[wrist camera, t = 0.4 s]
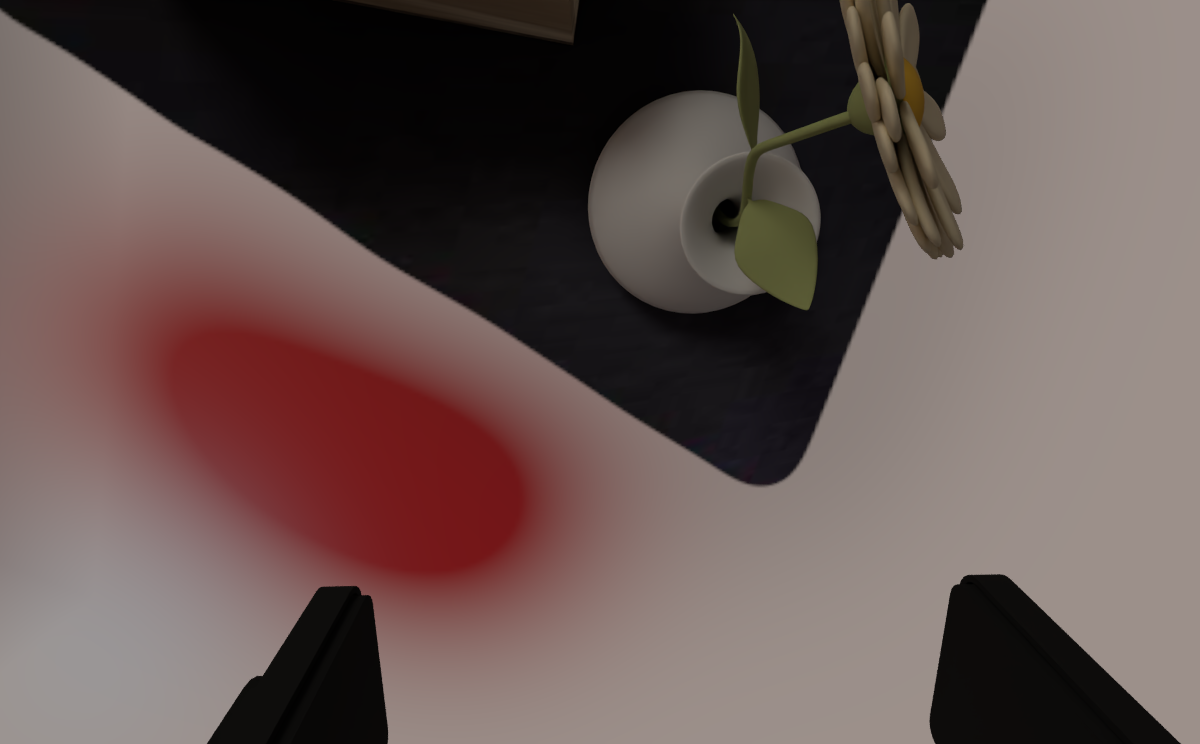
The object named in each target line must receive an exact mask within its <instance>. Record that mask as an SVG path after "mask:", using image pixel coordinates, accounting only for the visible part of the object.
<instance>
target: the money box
mask: <svg viewBox="0 0 1200 744" xmlns="http://www.w3.org/2000/svg"><path fill="white" fill-rule="evenodd" d="M334 1H339V2H345V3H350V4H355V5H360V6H366V7H371V8H376V9H382V10H387V11H392V12H398V13H403V14H408V15H414V16H419V17H424V18H430V19H435V20H440V21H446V22H451V23H456V24H462V25H467V26H472V27H478V28H483V29H488V30H494V31H499V32H504V33H510V34H515V35H520V36H525V37H531V38H536V39H541V40H547V41H552V42H557V43H563V44H568V45H573V43H574V36H575V29H576V22H577V15H578V8H579V1H580V0H334Z"/></svg>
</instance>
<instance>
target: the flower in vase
mask: <svg viewBox="0 0 1200 744" xmlns="http://www.w3.org/2000/svg"><path fill="white" fill-rule="evenodd" d="M840 5H841V10H842V14H843V18H844V22H845V26H846V29H847V32H848V37H849V42H850V47H851V51H852V56H853V60H854V64H855V68H856V71H857V74H858V80H859V82H858V84H857V85H856V87H855V88H854V89H853V91H852V93H851V95H850V97H849V101H848V106H847V112H844V113H841V114H838V115H836V116H833V117H830V118H827V119H824V120H822V121H819V122H816V123H813V124H811V125H808V126H805V127H802V128H799V129H797V130H794V131H791V132H788V133H785V134H784V132H783V131H782V130H781V129H780V127H779V126H778V125H777V124H776V123H775V122H774V121H773V120H772V119H771V118H770V117H769V116H768V115H767V114H766V113H764V112H763V111H762V110H760V109H759V79H758V71H757V64H756V60H755V55H754V52H753V49H752V46H751V43H750V40H749V38H748V36H747V34H746V32H745V30H744V29H743V27H742V25H741V24H740V22H739V21H738V20H737V18H736V17H735V15H734V14H733V15H734V17H735V20H736V22H737V25H738V28H739V32H740V58H739V68H738V77H737V97H735V96H733V95H730V94H726V93H721V92H716V91H704V90H696V91H684V92H680V93H676V94H671V95H668V96H665V97H663V98H660V99H657V100H655V101H653V102H651V103H650V104H648V105H646V106H644V107H642V108H641V109H640V110H638V111H637V112H635V113H634V114H633V115H631V116H630V117H629V118H628V119H627V120H626V121H625V122H624V123H623V124H622V125H621V126H620V127H619V128H618V129H617V130H616V131H615V133H614V134H613V135H612V136H611V138H610V139H609V140H608V142H607V144H606V145H605V147H604V149H603V150H602V152H601V154H600V156H599V159H598V161H597V163H596V165H595V169H594V172H593V175H592V178H591V183H590V189H589V196H588V216H589V225H590V230H591V234H592V238H593V241H594V244H595V247H596V250H597V252H598V254H599V256H600V258H601V260H602V262H603V264H604V265H605V266H606V268H607V269H608V271H609V272H610V274H611V275H612V276H613V277H614V278H615V279H616V281H617V282H618V283H619V284H620V285H621V286H622V287H624V288H625V289H626V290H627V291H628V292H629V293H631V294H632V295H634V296H635V297H637V298H638V299H640V300H641V301H643V302H646V303H648V304H650V305H652V306H654V307H657V308H660V309H664V310H667V311H672V312H678V313H692V314H694V313H706V312H711V311H716V310H721V309H724V308H726V307H729V306H732V305H735V304H737V303H739V302H741V301H743V300H745V299H746V298H748V297H749V296H751V295H757V294H761V293H765V292H768V293H769V294H771V295H772V296H774V297H776V298H778V299H780V300H782V301H784V302H786V303H788V304H790V305H792V306H795V307H797V308H800V309H803V310H808V309H809V308H810V305H811V302H812V299H813V294H814V290H815V284H816V277H817V263H818V255H817V240H818V236H819V231H820V222H821V214H820V205H819V201H818V197H817V195H816V192H815V190H814V187H813V186H812V184H811V182H810V180H809V179H808V178H807V176H806V175H805V174H804V172H802V171H801V168H800V164H799V161H798V159H797V156H796V154H795V151H794V149H793V147H792V145H791V143H794V142H797V141H800V140H803V139H806V138H809V137H812V136H815V135H818V134H821V133H824V132H827V131H830V130H833V129H836V128H839V127H842V126H845V125H848V124H851V123H852V125H853V126H854V127H856V128H857V129H858V130H859V131H861V132H864V133H867V134H871V135H874V136H875V139H876V142H877V146H878V149H879V152H880V155H881V158H882V161H883V163H884V166H885V168H886V171H887V174H888V177H889V180H890V183H891V186H892V189H893V191H894V193H895V196H896V198H897V200H898V202H899V205H900V207H901V209H902V211H903V213H904V216H905V219H906V221H907V223H908V225H909V228H910V230H911V232H912V234H913V236H914V237H915V239H916V241H917V243H918V244H919V246H920V247H921V248H922V249H923V250H924V251H925V252H926V253H927V254H928V255H929V256H930V257H931V258H932V259H937V258H938V257H942V255H943V254H944V255H945V256H946V257H949V258H951V257H952V256H953V255H954V250H953V245H954V246H955V247H956V248H957V249H959V250H961V249H962V248H963V239H962V236H961V232H960V230H959V227H958V225H957V222H956V220H955V218H954V215H953V213H952V212H954V213H955V214H960V213H961V212H962V208H961V202H960V198H959V194H958V192H957V189H956V186H955V184H954V182H953V180H952V178H951V176H950V175H949V173H948V171H947V169H946V167H945V165H944V163H943V162H942V160H941V158H940V156H939V154H938V152H937V150H936V148H935V147H934V145H933V143H932V141H931V139H933V140H936V141H940V140H943V139H944V138H945V135H946V130H945V124H944V120H943V116H942V113H941V111H940V109H939V107H938V105H937V103H936V102H935V101H934V99H933V98H932V97H931V96H930V95H928V94H927V93H926V92H925V91H923V87H922V83H921V80H920V77H919V74H918V71H917V69H916V63H917V57H918V50H919V26H918V21H917V18H916V14H915V11H914V8H913V6H912V5H911V4H910V3H907V4H905V5H904V6H903V7H902V9H901V11H900V14H899V13H898V1H897V0H840ZM930 138H931V139H930Z"/></svg>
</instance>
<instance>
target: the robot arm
mask: <svg viewBox="0 0 1200 744" xmlns="http://www.w3.org/2000/svg"><path fill="white" fill-rule="evenodd" d="M930 729H931V734H932V737H933V739H934V742H935V744H1180V743H1179V742H1178V741H1177V740H1176V739H1175V738H1174V737H1173V736H1172V735H1171V734H1170V733H1169V732H1168V731H1167V730H1166V729H1165V728H1164V727H1163V726H1162V725H1161V724H1160V723H1159V722H1158V721H1156V720H1155V718H1154V717H1153V716H1151V715H1150V714H1149V713H1148V712H1147V711H1146V710H1145V709H1144V708H1143V707H1142V706H1141V705H1140V704H1139V703H1138V702H1137V701H1136V700H1135V699H1134V698H1133V697H1132V696H1131V695H1130V694H1129V693H1127V691H1126V690H1124V688H1122V687H1121V686H1120V685H1119V684H1118V683H1117V682H1116V681H1115V680H1114V679H1113V678H1112V677H1111V676H1110V675H1109V674H1108V673H1107V672H1106V671H1105V670H1104V669H1103V668H1102V667H1101V666H1100V665H1099V664H1098V663H1097V662H1095V660H1093V659H1092V658H1091V657H1090V656H1089V655H1088V654H1087V653H1086V652H1085V651H1084V650H1083V649H1082V648H1081V647H1080V646H1079V645H1078V644H1077V643H1076V642H1075V641H1074V640H1073V639H1072V638H1071V637H1070V636H1069V635H1067V633H1065V631H1064V630H1062V629H1061V628H1060V627H1059V626H1058V625H1057V624H1056V623H1055V622H1054V621H1053V620H1052V619H1051V618H1050V617H1049V616H1048V615H1047V614H1046V613H1045V612H1044V611H1043V610H1042V609H1041V608H1040V607H1039V606H1038V605H1037V604H1036V603H1035V602H1033V600H1031V599H1030V598H1029V597H1028V596H1027V595H1026V594H1025V593H1024V592H1023V591H1022V590H1021V589H1020V588H1019V587H1018V586H1017V585H1016V584H1015V583H1014V582H1013V581H1012V580H1011V579H1010V578H1008V577H1007V576H1005V575H1000V574H997V575H967V576H965V577H963V579H962V580H961V582H960V584H957V585H955V586H953V588H952V589H951V593H950V598H949V604H948V610H947V617H946V622H945V628H944V634H943V640H942V647H941V653H940V658H939V664H938V670H937V677H936V683H935V689H934V695H933V701H932V707H931V713H930ZM387 743H388V725H387V717H386V709H385V701H384V693H383V684H382V676H381V667H380V659H379V652H378V642H377V635H376V626H375V618H374V609H373V602H372V599H371V596H369V595H361V591H360V589H359V588H358V587H357V586H340V587H339V586H335V587H321V588H319V589H318V590H317V591H316V593H315V594H314V596H313V598H312V599H311V601H310V602H309V604H308V606H307V607H306V609H305V610H304V612H303V613H302V615H301V617H300V618H299V620H298V621H297V623H296V624H295V626H294V628H293V629H292V631H291V632H290V634H289V635H288V637H287V639H286V640H285V642H284V644H283V645H282V646H281V648H280V650H279V651H278V653H277V654H276V656H275V657H274V659H273V661H272V662H271V664H270V665H269V667H268V669H267V670H266V672H265V673H264V675H263V676H256V677H255V678H253V679H251V680H250V681H249V682H248V683H247V685H246V686H245V687H244V688H243V690H242V691H241V693H240V694H239V696H238V697H237V699H236V700H235V702H234V704H233V705H232V707H231V708H230V709H229V711H228V712H227V714H226V715H225V717H224V719H223V720H222V722H221V723H220V725H219V726H218V728H217V729H216V731H215V732H214V734H213V735H212V737H211V739H210V740H209V741H208V743H207V744H387Z"/></svg>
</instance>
